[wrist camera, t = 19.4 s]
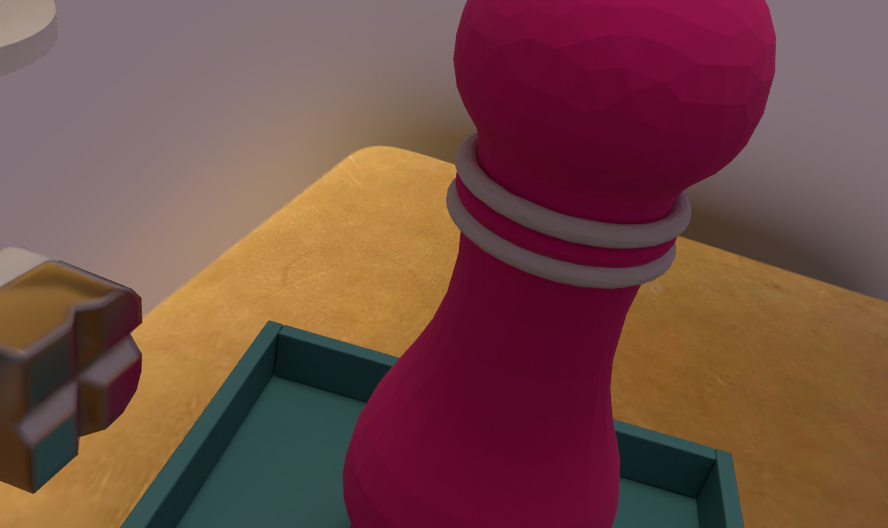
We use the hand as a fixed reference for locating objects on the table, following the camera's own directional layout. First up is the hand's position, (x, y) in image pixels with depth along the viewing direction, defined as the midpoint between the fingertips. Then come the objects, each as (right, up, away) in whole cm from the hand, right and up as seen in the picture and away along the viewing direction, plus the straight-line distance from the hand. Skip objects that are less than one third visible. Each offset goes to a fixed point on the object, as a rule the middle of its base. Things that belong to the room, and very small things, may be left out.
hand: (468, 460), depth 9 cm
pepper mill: (0, -7, +15) cm, 17 cm away
